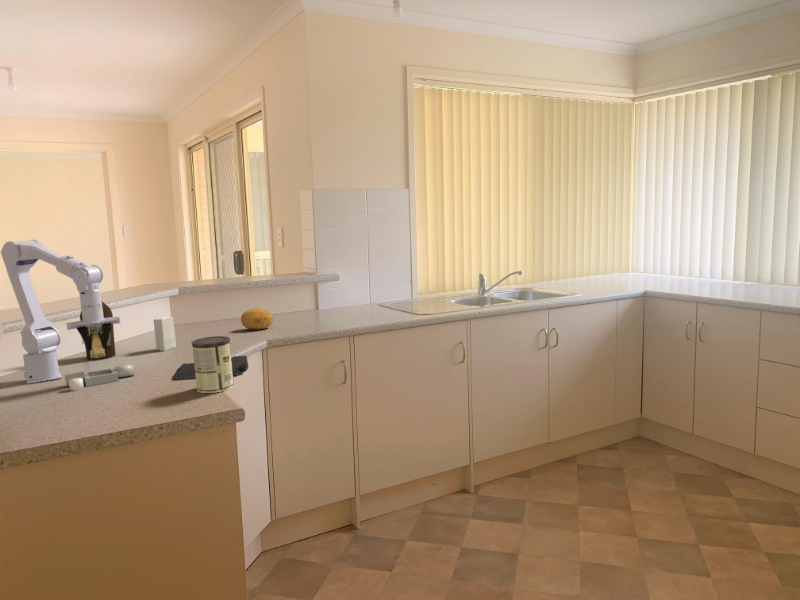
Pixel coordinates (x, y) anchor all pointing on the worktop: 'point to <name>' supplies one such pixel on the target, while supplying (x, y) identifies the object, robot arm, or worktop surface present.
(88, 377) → the fitting socket
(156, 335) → the skincare box
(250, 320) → the potato
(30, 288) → the robot arm
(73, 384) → the pipe cap
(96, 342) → the gold metal cylinder
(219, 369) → the coffee can
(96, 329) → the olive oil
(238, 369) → the dark slate chunk
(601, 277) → the worktop surface
